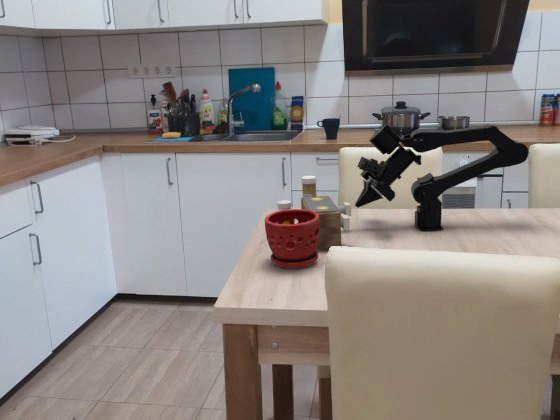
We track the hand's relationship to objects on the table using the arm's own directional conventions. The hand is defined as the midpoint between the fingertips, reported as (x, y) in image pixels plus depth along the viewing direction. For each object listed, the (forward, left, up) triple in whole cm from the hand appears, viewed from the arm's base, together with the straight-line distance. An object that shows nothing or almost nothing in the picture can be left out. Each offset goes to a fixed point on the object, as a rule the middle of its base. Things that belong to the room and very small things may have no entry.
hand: (356, 206), depth 152 cm
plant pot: (+20, +23, -7) cm, 31 cm away
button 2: (+10, +13, -2) cm, 16 cm away
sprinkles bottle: (+11, -15, -7) cm, 21 cm away
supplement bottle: (+20, 0, -7) cm, 22 cm away
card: (+11, +7, +3) cm, 13 cm away
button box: (+11, +7, -7) cm, 15 cm away
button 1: (+7, 0, -2) cm, 7 cm away
